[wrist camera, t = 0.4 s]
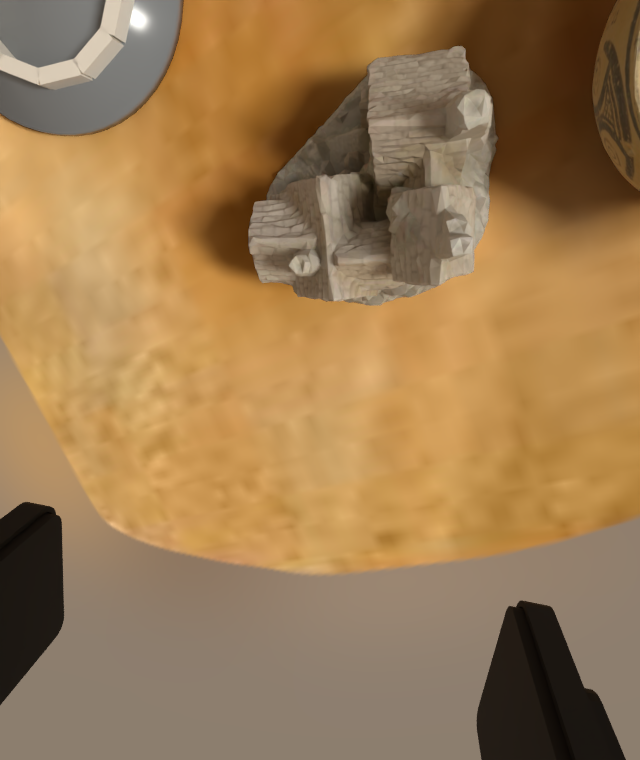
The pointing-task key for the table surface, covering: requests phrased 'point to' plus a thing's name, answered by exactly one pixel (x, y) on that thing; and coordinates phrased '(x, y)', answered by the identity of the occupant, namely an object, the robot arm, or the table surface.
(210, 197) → the table surface
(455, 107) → the ceramic cottage
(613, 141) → the ceramic bowl
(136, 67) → the round tray
